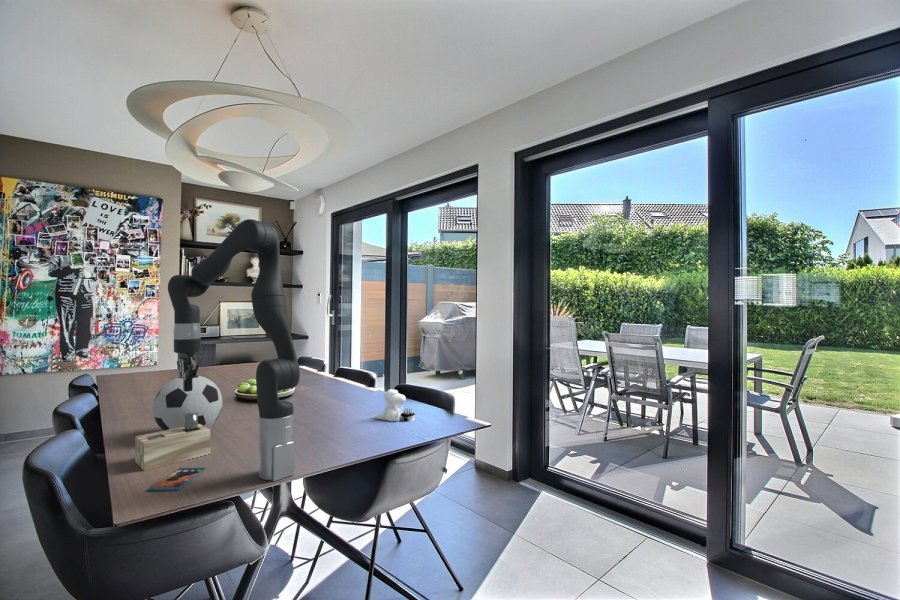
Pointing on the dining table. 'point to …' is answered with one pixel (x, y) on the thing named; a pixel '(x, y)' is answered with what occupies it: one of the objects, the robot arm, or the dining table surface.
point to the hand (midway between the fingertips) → (187, 390)
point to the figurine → (395, 408)
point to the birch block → (171, 447)
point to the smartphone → (176, 479)
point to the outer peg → (155, 437)
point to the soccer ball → (187, 403)
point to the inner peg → (191, 422)
